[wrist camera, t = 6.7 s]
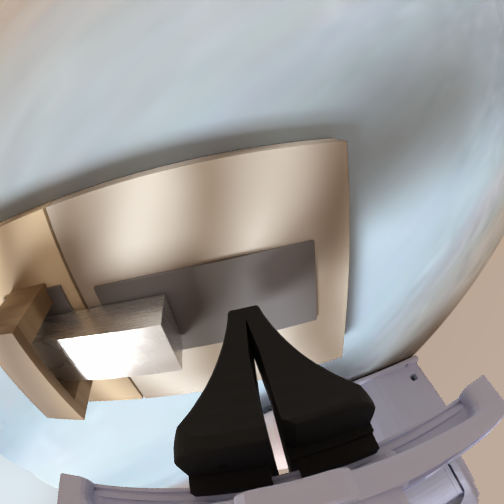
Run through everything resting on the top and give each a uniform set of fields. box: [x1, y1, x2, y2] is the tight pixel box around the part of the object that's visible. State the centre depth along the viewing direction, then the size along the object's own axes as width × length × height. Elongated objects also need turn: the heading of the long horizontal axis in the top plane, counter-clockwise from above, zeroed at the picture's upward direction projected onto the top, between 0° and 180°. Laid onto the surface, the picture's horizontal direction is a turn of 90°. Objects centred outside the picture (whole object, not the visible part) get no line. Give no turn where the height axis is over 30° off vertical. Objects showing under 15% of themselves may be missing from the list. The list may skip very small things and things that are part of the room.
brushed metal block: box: [31, 294, 183, 381], centre depth 12 cm, size 9×3×2 cm, turn 98°
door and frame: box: [0, 138, 350, 420], centre depth 13 cm, size 22×14×6 cm, turn 98°
